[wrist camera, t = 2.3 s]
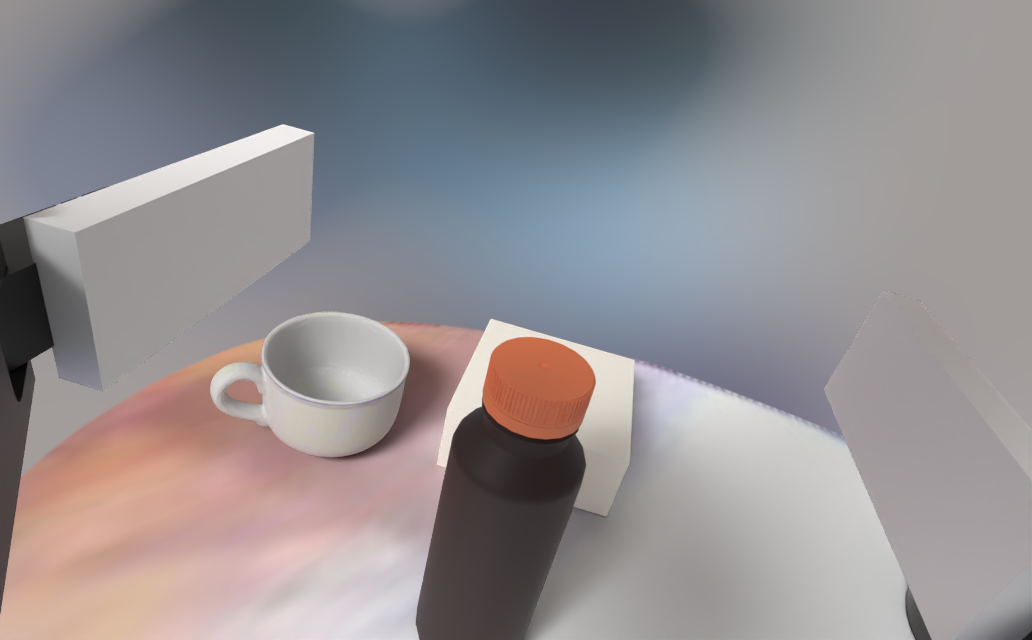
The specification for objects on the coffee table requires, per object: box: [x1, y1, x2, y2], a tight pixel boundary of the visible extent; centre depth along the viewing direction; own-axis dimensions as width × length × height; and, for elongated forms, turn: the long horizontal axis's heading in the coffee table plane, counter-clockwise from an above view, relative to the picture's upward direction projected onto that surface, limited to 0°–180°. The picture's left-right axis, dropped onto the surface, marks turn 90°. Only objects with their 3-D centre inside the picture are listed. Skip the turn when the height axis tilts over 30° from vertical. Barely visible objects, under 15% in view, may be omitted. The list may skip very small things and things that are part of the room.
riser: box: [437, 319, 635, 517], centre depth 52 cm, size 14×14×6 cm
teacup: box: [210, 312, 410, 457], centre depth 46 cm, size 14×11×8 cm
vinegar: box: [416, 337, 596, 640], centre depth 32 cm, size 7×7×20 cm
